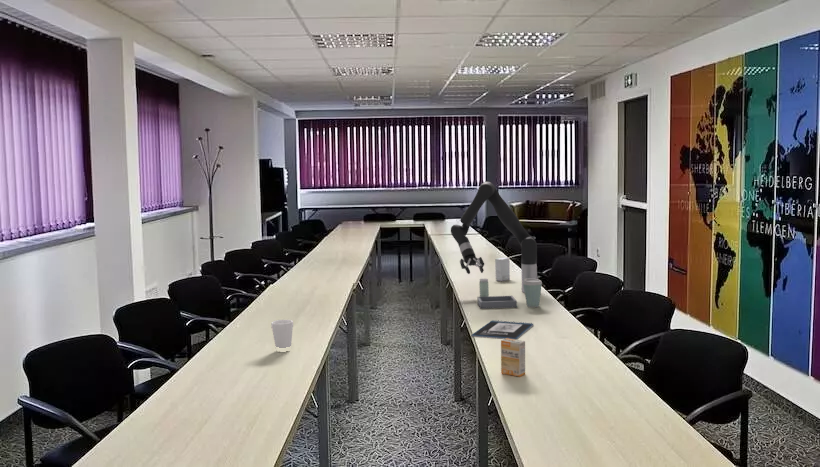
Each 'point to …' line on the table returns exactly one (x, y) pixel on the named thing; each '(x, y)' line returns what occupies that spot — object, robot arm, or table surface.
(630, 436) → the table surface
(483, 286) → the shaker
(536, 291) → the disposable coffee cup
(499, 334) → the sketchbook
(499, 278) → the skincare box
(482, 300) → the tray
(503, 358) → the supplement box
